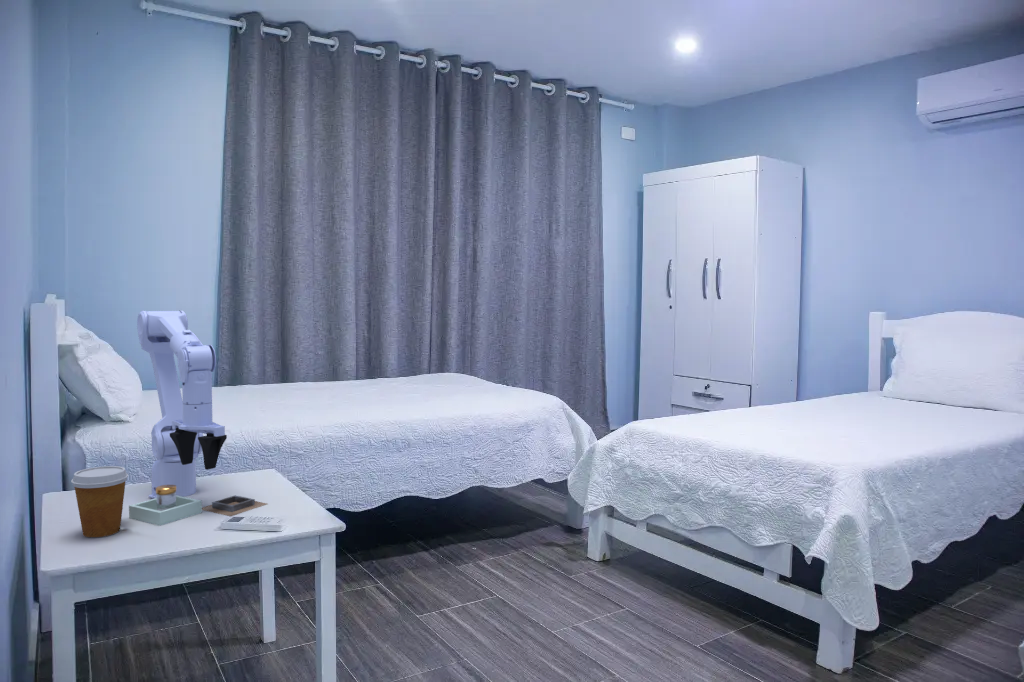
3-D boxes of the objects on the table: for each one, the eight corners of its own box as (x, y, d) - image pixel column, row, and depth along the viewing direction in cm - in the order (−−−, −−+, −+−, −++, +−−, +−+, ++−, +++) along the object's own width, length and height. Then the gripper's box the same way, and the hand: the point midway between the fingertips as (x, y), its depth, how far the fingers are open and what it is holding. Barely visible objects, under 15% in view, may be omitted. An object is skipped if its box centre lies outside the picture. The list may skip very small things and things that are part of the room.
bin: (129, 522, 144) (128, 505, 143) (171, 510, 152) (171, 494, 152) (160, 530, 139) (159, 512, 139) (202, 517, 148) (201, 500, 147)
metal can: (170, 511, 148) (170, 483, 148) (180, 515, 146) (180, 486, 146) (152, 516, 145) (152, 487, 145) (162, 519, 143) (161, 490, 143)
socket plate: (197, 513, 150) (197, 503, 150) (236, 501, 159) (236, 491, 159) (230, 520, 145) (230, 510, 145) (268, 508, 154) (268, 498, 154)
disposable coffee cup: (71, 543, 131) (69, 480, 131) (74, 528, 140) (72, 468, 139) (129, 535, 136) (128, 474, 135) (129, 521, 144) (127, 463, 143)
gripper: (158, 402, 150) (159, 465, 151) (203, 408, 143) (204, 474, 143) (188, 398, 156) (189, 459, 157) (232, 403, 149) (233, 467, 150)
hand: (198, 466), depth 150 cm, fingers open, 7 cm apart
